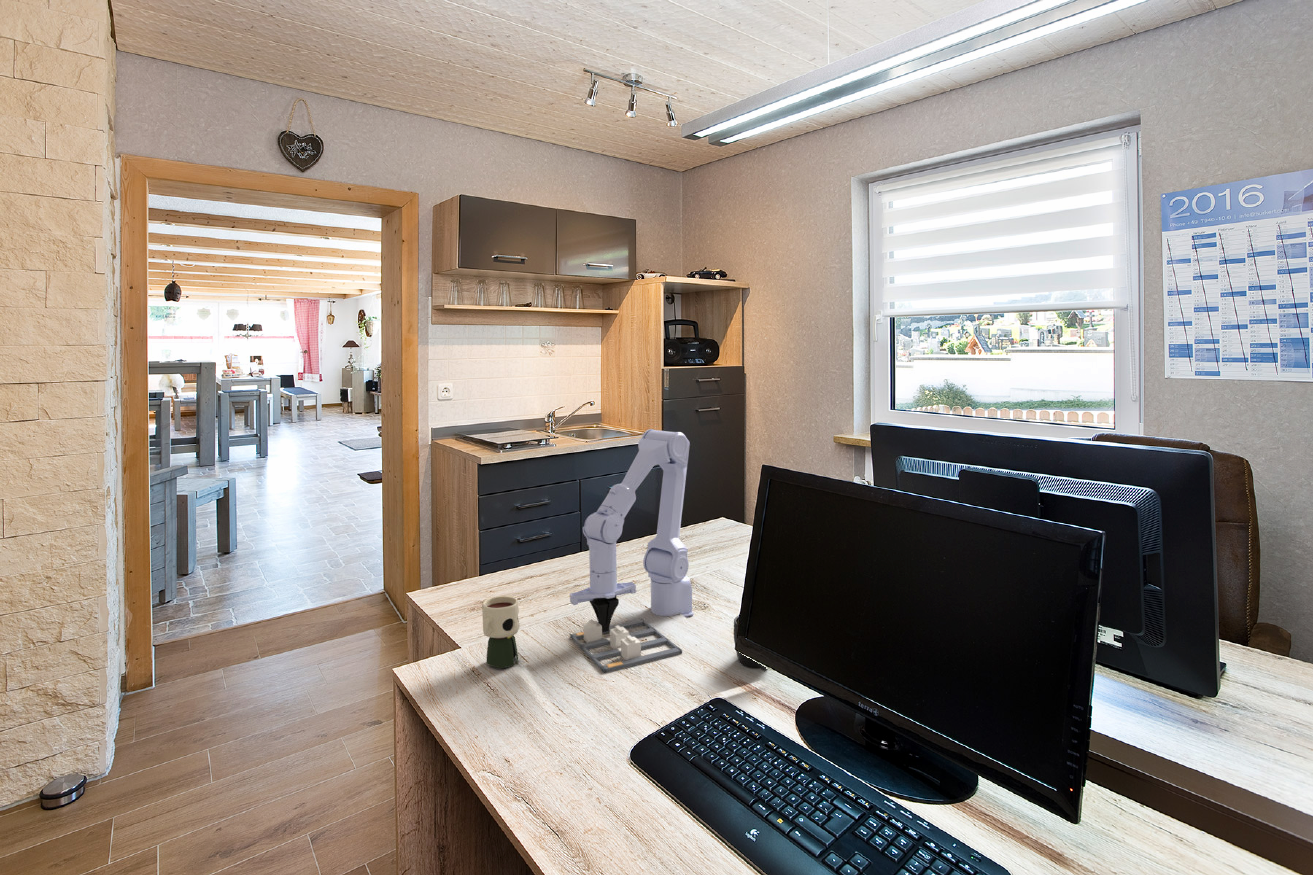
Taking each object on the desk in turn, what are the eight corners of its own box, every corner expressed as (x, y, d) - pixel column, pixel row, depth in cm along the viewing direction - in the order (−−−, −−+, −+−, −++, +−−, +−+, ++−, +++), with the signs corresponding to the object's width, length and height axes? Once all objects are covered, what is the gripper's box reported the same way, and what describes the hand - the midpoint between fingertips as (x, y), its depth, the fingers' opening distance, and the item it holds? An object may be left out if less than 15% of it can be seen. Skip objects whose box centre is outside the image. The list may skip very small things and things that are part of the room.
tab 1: (596, 636, 146) (596, 618, 145) (602, 641, 143) (601, 622, 143) (583, 638, 144) (583, 620, 144) (589, 644, 142) (588, 625, 141)
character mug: (501, 678, 130) (499, 614, 128) (471, 672, 132) (468, 609, 130) (532, 654, 140) (530, 594, 138) (503, 649, 142) (501, 590, 140)
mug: (778, 651, 141) (778, 607, 139) (773, 678, 129) (774, 631, 128) (738, 647, 143) (739, 604, 141) (730, 673, 131) (731, 627, 130)
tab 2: (622, 642, 143) (622, 623, 142) (629, 647, 140) (628, 629, 140) (610, 645, 141) (609, 626, 141) (616, 650, 139) (615, 631, 138)
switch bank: (642, 626, 153) (642, 618, 153) (682, 658, 138) (682, 649, 137) (570, 642, 145) (570, 634, 145) (604, 678, 130) (603, 669, 129)
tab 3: (634, 652, 138) (634, 633, 137) (640, 658, 135) (640, 639, 135) (621, 655, 137) (620, 636, 136) (627, 661, 134) (627, 642, 133)
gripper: (578, 580, 136) (579, 644, 138) (642, 569, 143) (642, 629, 145) (565, 570, 142) (567, 631, 144) (627, 559, 149) (628, 618, 151)
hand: (604, 629), depth 145 cm, fingers closed
